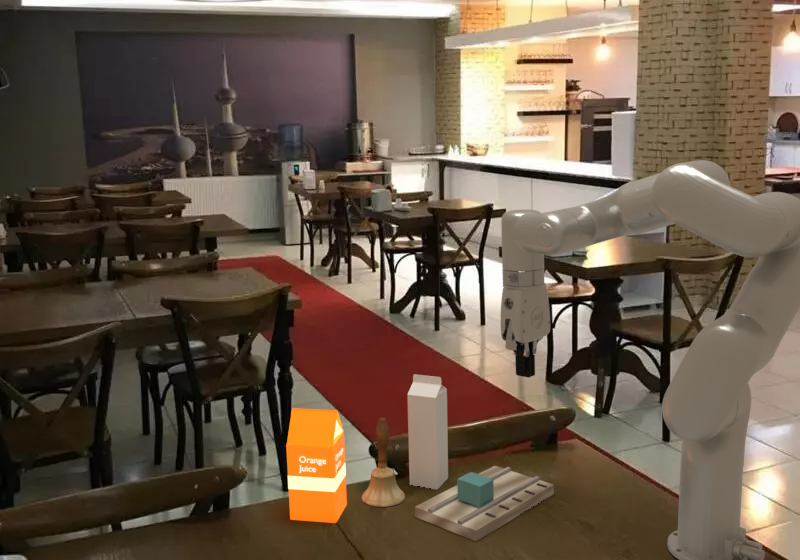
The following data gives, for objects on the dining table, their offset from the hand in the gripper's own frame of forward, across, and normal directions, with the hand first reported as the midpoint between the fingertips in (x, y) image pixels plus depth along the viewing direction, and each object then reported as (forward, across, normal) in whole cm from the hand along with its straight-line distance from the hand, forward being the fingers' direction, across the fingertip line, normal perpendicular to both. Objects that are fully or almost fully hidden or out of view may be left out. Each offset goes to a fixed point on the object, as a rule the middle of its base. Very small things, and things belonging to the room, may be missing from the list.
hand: (525, 375), depth 158 cm
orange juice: (+23, -30, +26) cm, 46 cm away
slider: (+22, -11, +4) cm, 25 cm away
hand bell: (+24, -18, +21) cm, 36 cm away
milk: (+24, -7, +19) cm, 31 cm away
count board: (+24, -8, +4) cm, 25 cm away
